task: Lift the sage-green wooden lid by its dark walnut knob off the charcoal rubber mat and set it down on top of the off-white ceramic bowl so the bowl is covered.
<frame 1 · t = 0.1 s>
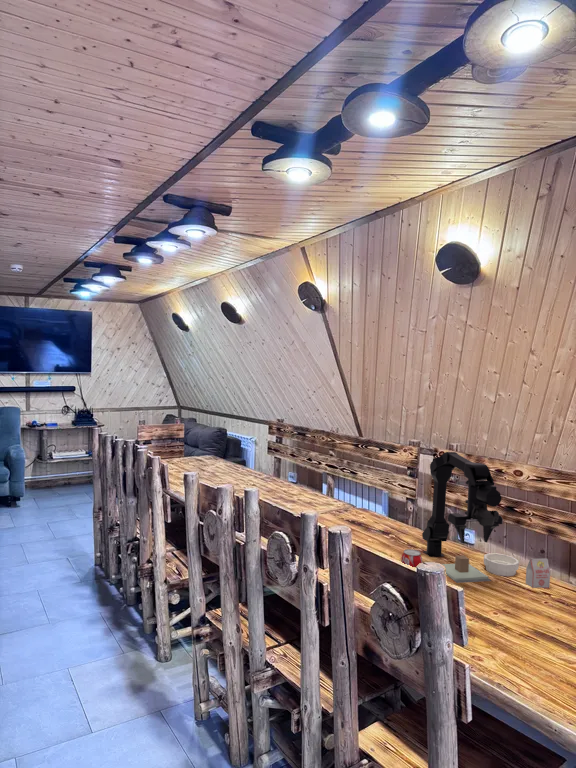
hand: (474, 542, 183), 14 cm above the table, tool pointing down, fingers open, 9 cm apart
lid: (461, 572, 191), resting on mat
soda can: (410, 586, 178), on the table
bowl: (500, 571, 194), on the table
white gabled carton: (537, 587, 182), on the table
mat: (461, 573, 191), on the table
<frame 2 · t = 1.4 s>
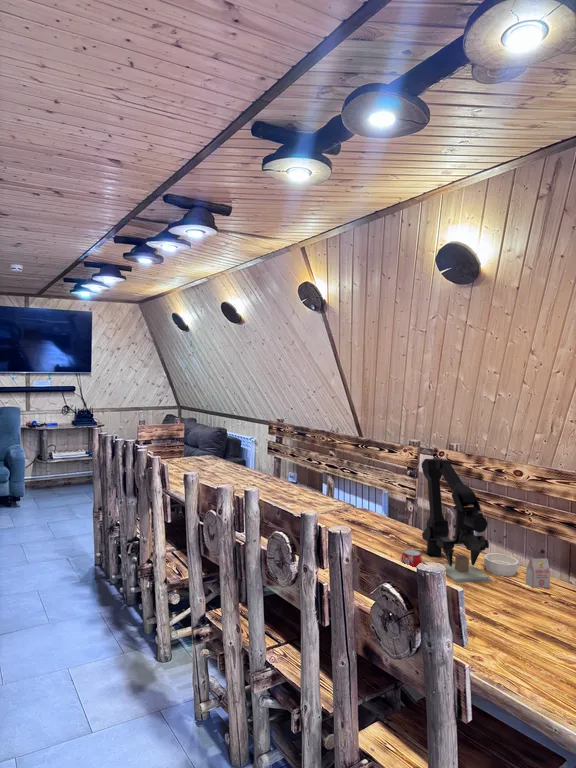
hand: (461, 565, 191), 3 cm above the table, tool pointing down, fingers open, 9 cm apart
nothing on the table moved.
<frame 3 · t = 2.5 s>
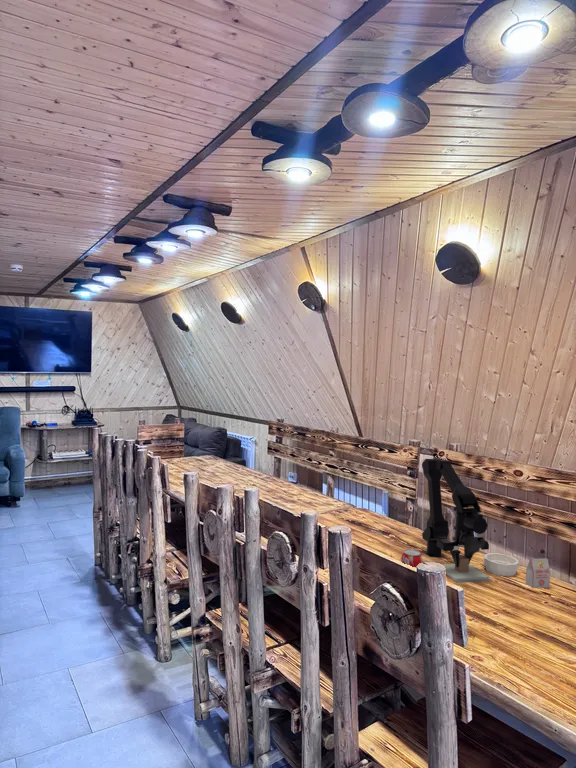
hand: (461, 566, 191), 3 cm above the table, tool pointing down, fingers closed on lid, 3 cm apart
lid: (461, 572, 191), resting on mat, touching gripper
everything else where it was.
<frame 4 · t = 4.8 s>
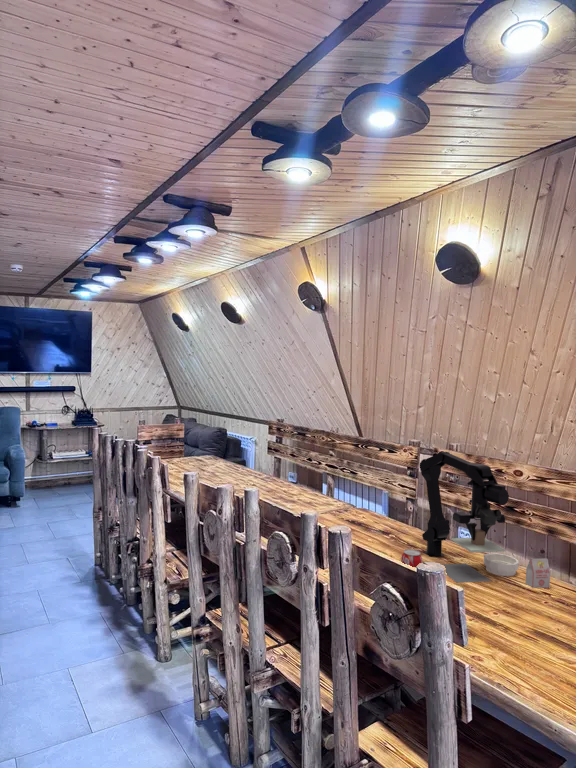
hand: (477, 540, 192), 13 cm above the table, tool pointing down, fingers closed on lid, 3 cm apart
lid: (477, 545, 192), point 10 cm above the table, touching gripper
everything else where it was.
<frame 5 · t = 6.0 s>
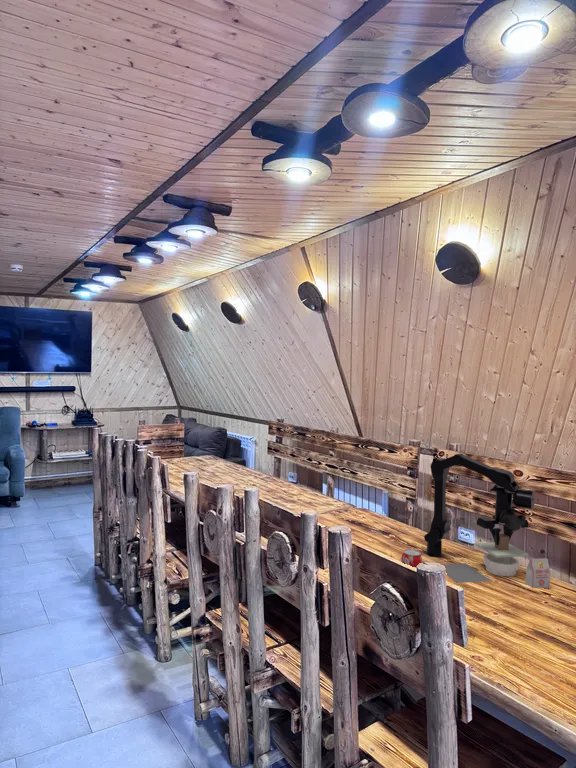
hand: (501, 544, 194), 10 cm above the table, tool pointing down, fingers closed on lid, 3 cm apart
lid: (501, 550, 194), point 8 cm above the table, touching gripper
everything else where it was.
when the fingers open (9 cm above the table, at t = 7.0 s): lid drops 1 cm, resting on bowl.
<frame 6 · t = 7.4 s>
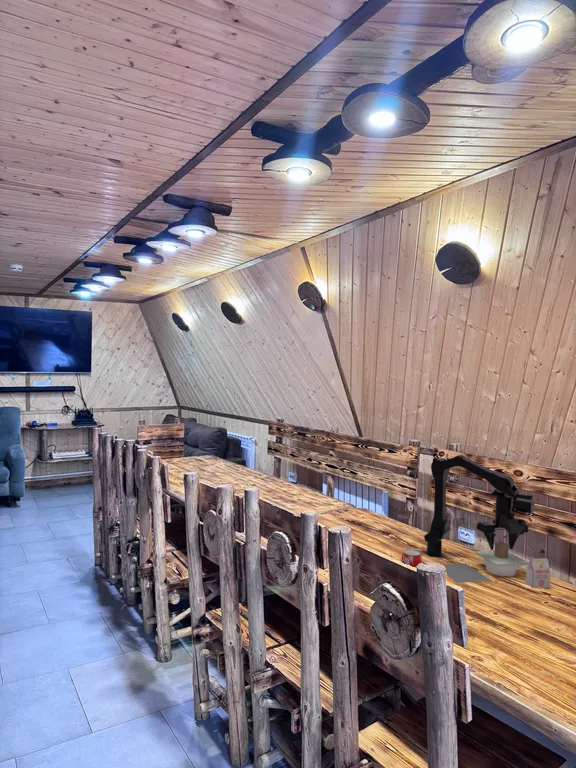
hand: (501, 549, 194), 9 cm above the table, tool pointing down, fingers open, 8 cm apart
lid: (501, 558, 194), point 5 cm above the table, touching bowl
everything else where it was.
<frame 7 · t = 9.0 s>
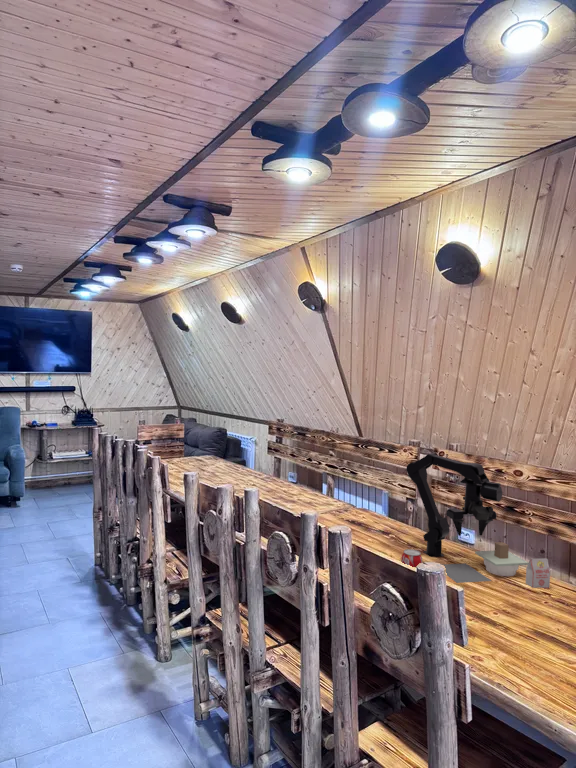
hand: (470, 535, 200), 12 cm above the table, tool pointing down, fingers open, 9 cm apart
nothing on the table moved.
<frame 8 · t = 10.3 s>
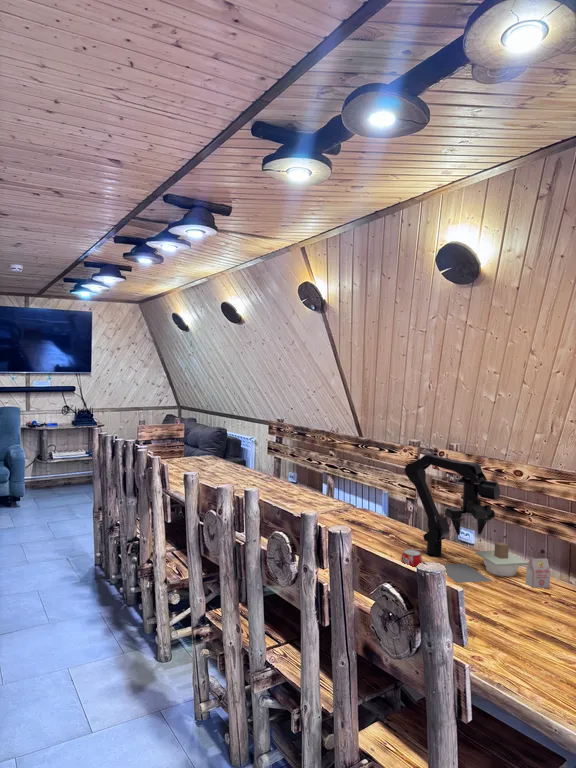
hand: (468, 534, 200), 12 cm above the table, tool pointing down, fingers open, 9 cm apart
nothing on the table moved.
at the end: lid 0.1 cm off-centre on the bowl, point 5.0 cm above the bowl's base; lid tilted 0°; the gripper is holding nothing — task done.
